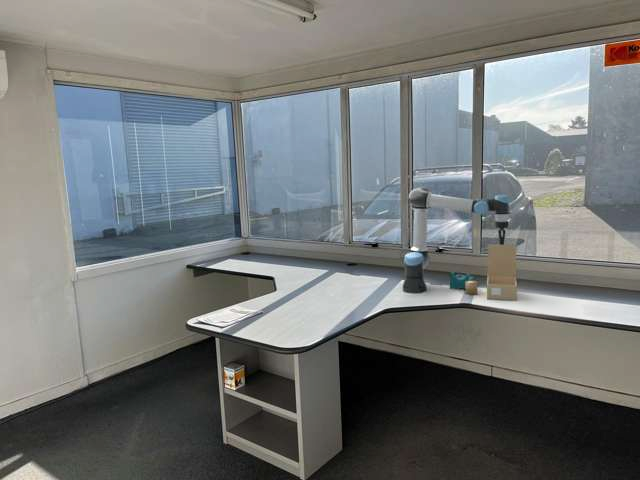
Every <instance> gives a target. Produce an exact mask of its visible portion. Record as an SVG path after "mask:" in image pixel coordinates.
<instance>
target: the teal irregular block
mask: <svg viewBox="0 0 640 480" xmlns="http://www.w3.org/2000/svg"><path fill="white" fill-rule="evenodd" d="M455 273H456V272H455V271H451V272H450V281H449V289H452V290H457V291H458V290H460V289H465V282H466V281H474V276H471V274H470V273H466V274H465V275H463V274H458V273H457V274H455Z"/></svg>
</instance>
